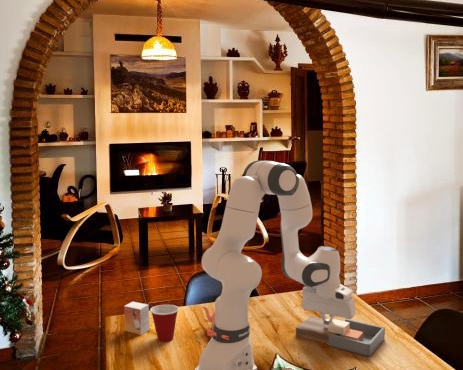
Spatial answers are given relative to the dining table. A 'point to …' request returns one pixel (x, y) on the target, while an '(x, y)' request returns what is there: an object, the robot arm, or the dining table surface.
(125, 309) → the small box
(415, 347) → the dining table surface
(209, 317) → the pink branching coral
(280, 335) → the dining table surface
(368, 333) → the box
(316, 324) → the plate
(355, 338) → the tile front
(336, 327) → the tile rear
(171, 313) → the plastic cup
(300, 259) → the robot arm
